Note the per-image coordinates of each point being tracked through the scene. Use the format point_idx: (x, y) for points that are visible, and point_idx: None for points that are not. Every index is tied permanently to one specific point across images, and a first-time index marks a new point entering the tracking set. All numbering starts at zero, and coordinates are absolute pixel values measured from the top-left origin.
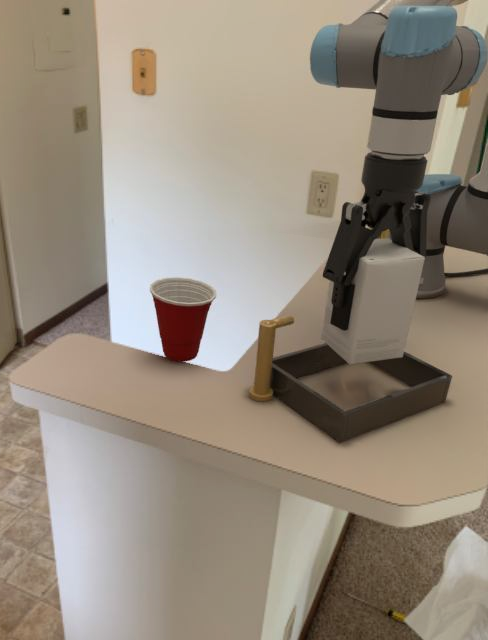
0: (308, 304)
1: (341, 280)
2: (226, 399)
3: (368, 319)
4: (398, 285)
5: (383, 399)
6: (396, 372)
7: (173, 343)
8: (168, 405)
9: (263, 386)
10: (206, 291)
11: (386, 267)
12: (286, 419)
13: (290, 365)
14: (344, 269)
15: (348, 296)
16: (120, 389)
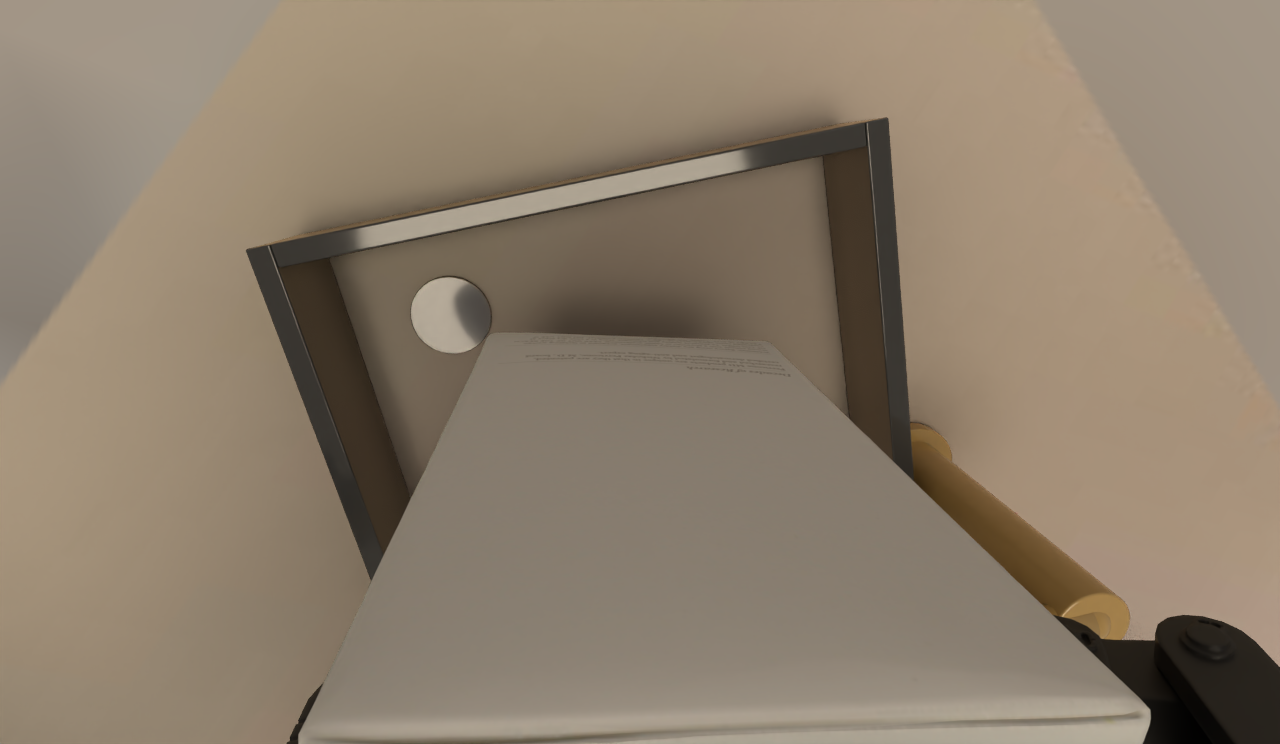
0: None
1: (1155, 640)
2: (1013, 465)
3: (785, 417)
4: (637, 521)
5: (670, 172)
6: (385, 450)
7: None
8: (1178, 480)
9: (941, 456)
10: None
11: (868, 651)
12: (913, 308)
13: None
14: (1234, 718)
15: None
16: (1243, 590)
